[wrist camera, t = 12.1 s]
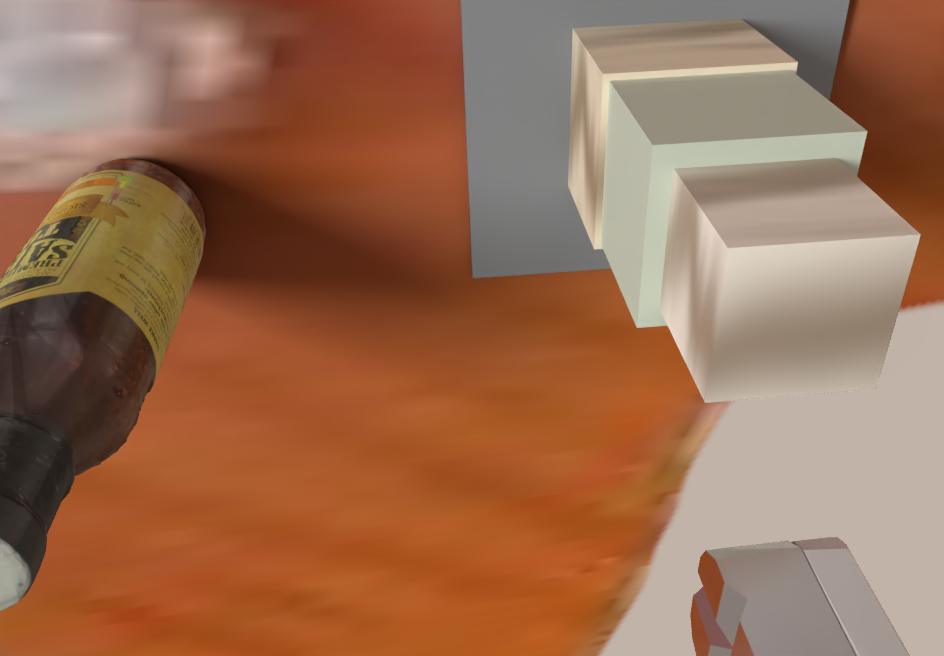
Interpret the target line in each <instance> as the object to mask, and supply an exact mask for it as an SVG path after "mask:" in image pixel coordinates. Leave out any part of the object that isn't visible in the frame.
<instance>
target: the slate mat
mask: <svg viewBox="0 0 944 656" xmlns="http://www.w3.org/2000/svg"><path fill="white" fill-rule="evenodd" d="M849 2H850V0H461V21H462V45H463V69H464V93H465V117H466V141H467V165H468V190H469V214H470V238H471V262H472V276H473V278H487V277H501V276H515V275H528V274H542V273H556V272H570V271H584V270H598V269H611V266H610V264H609V262H608V259H607V257H606V255H605V252H604V250H603V249H594V248H593V246H592V243H591V241H590V238H589V236H588V233H587V231H586V228H585V226H584V224H583V221H582V219H581V216H580V214H579V211H578V209H577V207H576V204H575V202H574V199H573V197H572V194H571V192H570V190H569V187H568V173H569V138H570V104H571V69H572V35H573V28H589V27H607V26H624V25H641V24H658V23H675V22H692V21H709V20H726V19H742V20H743V21H745V22H746V23H747V24H749V25H750V26H751V27H753V28H754V29H755V30H756V31H758V32H759V33H760V34H762V35H763V36H764V37H766V38H767V39H768V40H770V41H771V42H772V43H774V44H775V45H776V46H777V47H779V48H780V49H781V50H783V51H784V52H785V53H787V54H788V55H789V56H791V57H792V58H793V59H795V60H796V61H797V62H798V65H797V71H796V75H797V76H799V77H800V78H801V79H802V80H804V81H805V82H806V83H807V84H809V85H810V86H811V87H813V88H814V89H815V90H816V91H818V92H819V93H820V94H821V95H823V96H824V97H825V98H826V99H828V100H829V101H830V96H831V91H832V86H833V81H834V76H835V71H836V66H837V61H838V56H839V51H840V46H841V41H842V36H843V31H844V27H845V22H846V17H847V12H848V7H849Z"/></svg>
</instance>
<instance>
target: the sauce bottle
mask: <svg viewBox="0 0 944 656" xmlns="http://www.w3.org/2000/svg"><path fill="white" fill-rule="evenodd" d="M204 219H205V218H204V213H203V208H202V206H201V204H200V201H199V200H198V198H197V197H196V195H195V194H194V192H193V190H192V189H191V188H190V187H188V186H187V185H186V184H185V182H184V181H183V180H182V179H181V178H180V177H178V176H176V175H174V174H173V173H172V172H171V171H169V170H167V169H165V168H163V167H161V166H159V165H157V164H154V163H150V162H148V161H144V160H135V159H118V160H113V161H110V162H107V163H103V164H102V165H99V166H97V167H96V168H93V169H92V170H91V171H89V172H86V173H84V174H83V177H82V178H80V179H78V180H77V181H75V182H74V183H73V184H71V185H70V186H69V187H68V188H67V189H66V191H65V192H64V193H63V194H62V196H61V197H60V198H59V200H58V201H57V203H56V204H55V205H54V207H53V208H52V209H51V211H50V212H49V213H48V215H47V216H46V217H45V219H44V220H43V222H42V223H41V224H40V226H39V227H38V229H37V230H36V231H35V233H34V234H33V235H32V237H31V238H30V239H29V240H28V241H27V242H26V245H25V246H24V247H23V249H22V250H21V252H20V253H19V255H18V256H17V257H16V258H15V260H14V261H13V263H12V265H11V266H10V267H9V268H8V269H7V271H6V272H5V273H4V275H3V276H2V278H1V279H0V611H2V610H4V609H6V608H8V607H11V606H13V605H15V604H16V603H18V602H19V601H20V600H21V599H22V598H23V597H24V596H25V595H26V593H27V592H28V591H29V589H30V587H31V585H32V584H33V582H34V580H35V578H36V575H37V573H38V571H39V568H40V566H41V563H42V560H43V558H44V555H45V551H46V543H47V536H46V535H47V533H48V531H49V528H50V526H51V524H52V522H53V519H54V517H55V515H56V512H57V510H58V508H59V506H60V503H61V501H62V500H63V499H64V498H65V497H66V496H67V494H68V493H69V492H70V489H71V486H72V484H73V482H74V476H77V475H79V474H81V473H83V472H85V471H86V470H88V469H90V468H91V467H94V466H97V465H100V464H101V462H102V461H104V460H106V459H107V458H108V457H110V456H111V455H112V454H114V453H115V452H117V451H118V449H119V448H120V447H121V446H122V445H123V444H124V443H125V442H126V441H127V438H128V436H129V434H130V432H131V431H132V429H133V427H134V426H135V425H136V423H137V420H138V416H139V411H140V410H141V406H142V404H143V402H144V397H145V396H146V394H147V393H148V392H150V390H151V389H152V387H153V385H154V382H155V380H156V377H157V374H158V372H159V369H160V367H161V364H162V362H163V359H164V357H165V354H166V351H167V348H168V346H169V343H170V340H171V338H172V335H173V333H174V330H175V328H176V325H177V323H178V320H179V318H180V315H181V313H182V310H183V307H184V305H185V302H186V299H187V297H188V294H189V291H190V289H191V286H192V284H193V281H194V278H195V276H196V273H197V270H198V267H199V265H200V262H201V258H202V254H203V244H204V242H205V234H206V228H205V220H204Z"/></svg>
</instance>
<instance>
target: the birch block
mask: <svg viewBox="0 0 944 656" xmlns="http://www.w3.org/2000/svg"><path fill="white" fill-rule="evenodd" d="M797 65H798V62H797V61H796V60H795V59H793V58H792V57H791V56H789V55H788V54H787V53H785V52H784V51H783V50H781V49H780V48H779V47H777V46H776V45H775V44H774V43H772V42H771V41H770V40H768V39H767V38H766V37H764V36H763V35H762V34H760V33H759V32H758V31H756V30H755V29H754V28H753V27H751V26H750V25H749V24H747V23H746V22H745V21H743V20H742V19H726V20H709V21H692V22H675V23H658V24H641V25H624V26H607V27H589V28H573V35H572V69H571V104H570V138H569V173H568V187H569V190H570V192H571V194H572V197H573V199H574V202H575V204H576V207H577V209H578V211H579V214H580V216H581V219H582V221H583V224H584V226H585V228H586V231H587V233H588V236H589V238H590V241H591V243H592V246H593V248H594V249H603V248H602V245H601V228H602V210H603V191H604V173H605V154H606V136H607V118H608V99H609V81H613V80H629V79H645V78H661V77H678V76H694V75H710V74H726V73H743V72H759V71H775V70H791V71H792V72H794V73H795V74H796V71H797Z"/></svg>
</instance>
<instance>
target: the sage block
mask: <svg viewBox="0 0 944 656" xmlns="http://www.w3.org/2000/svg"><path fill="white" fill-rule="evenodd" d="M866 136H867V130H865V129H864V128H863V127H862V126H860V125H859V124H858V123H857V122H855V121H854V120H853V119H852V118H850V117H849V116H848V115H847V114H845V113H844V112H843V111H841V110H840V109H839V108H838V107H836V106H835V105H834V104H833V103H831V102H830V101H829V100H828V99H826V98H825V97H824V96H823V95H821V94H820V93H819V92H818V91H816V90H815V89H814V88H813V87H811V86H810V85H809V84H807V83H806V82H805V81H804V80H802V79H801V78H800V77H799V76H797V75H796V74H795V73H794V72H792V71H791V70H775V71H759V72H743V73H726V74H710V75H694V76H678V77H661V78H645V79H629V80H613V81H609V99H608V118H607V136H606V154H605V173H604V191H603V210H602V228H601V245H602V248H603V250H604V252H605V255H606V257H607V259H608V262H609V264H610V266H611V269H612V271H613V273H614V276H615V278H616V280H617V283H618V285H619V287H620V290H621V292H622V294H623V297H624V299H625V301H626V304H627V306H628V308H629V311H630V313H631V315H632V318H633V320H634V322H635V325H636V327H637V328H641V327H654V326H668V325H667V323H666V321H665V319H664V317H663V315H662V313H661V311H660V309H659V308H660V298H661V289H662V279H663V269H664V259H665V249H666V240H667V230H668V220H669V210H670V200H671V191H672V181H673V171H674V169H676V168H691V167H706V166H721V165H736V164H751V163H766V162H781V161H796V160H811V159H826V158H837V159H838V160H839V161H840V162H841V163H843V164H844V165H845V166H846V167H847V168H848V169H849V170H850V171H851V172H852V173H854V174H855V175H856V176H857V174H858V170H859V166H860V161H861V157H862V153H863V149H864V144H865V140H866Z"/></svg>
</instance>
